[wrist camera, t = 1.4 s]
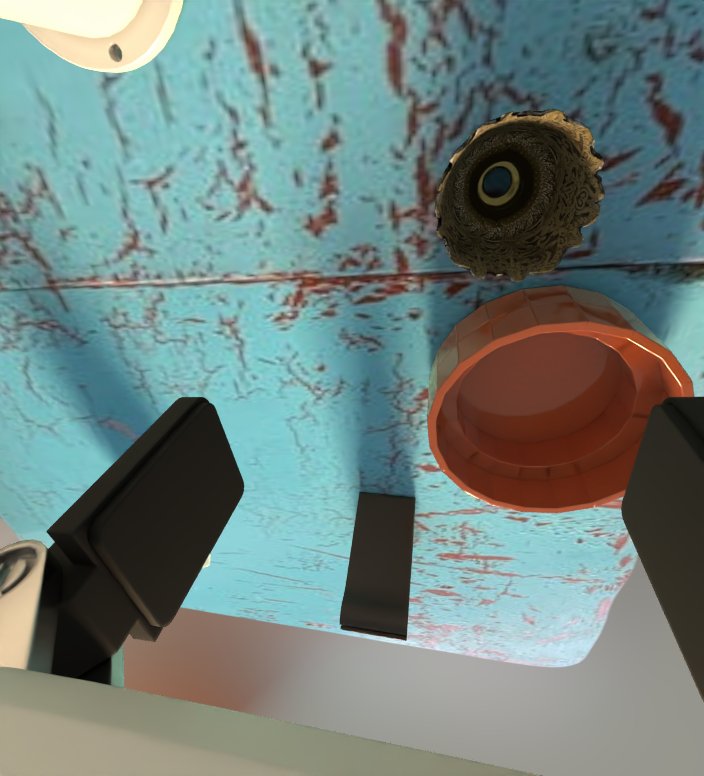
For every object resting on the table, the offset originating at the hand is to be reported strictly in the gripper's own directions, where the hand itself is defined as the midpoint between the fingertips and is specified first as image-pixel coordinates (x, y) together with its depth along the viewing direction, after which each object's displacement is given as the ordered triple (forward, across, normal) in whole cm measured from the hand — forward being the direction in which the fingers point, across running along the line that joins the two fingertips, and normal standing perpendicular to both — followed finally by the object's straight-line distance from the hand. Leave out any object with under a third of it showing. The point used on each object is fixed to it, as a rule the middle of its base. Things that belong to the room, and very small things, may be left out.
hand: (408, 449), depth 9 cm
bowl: (+23, -7, +12) cm, 27 cm away
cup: (+23, -4, -3) cm, 23 cm away
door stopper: (+23, +6, +31) cm, 39 cm away
